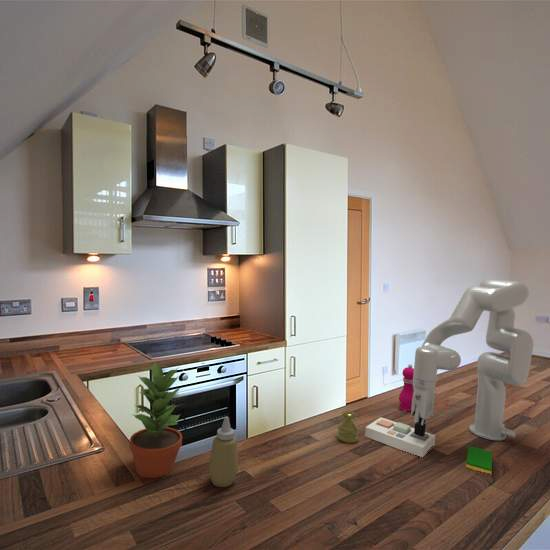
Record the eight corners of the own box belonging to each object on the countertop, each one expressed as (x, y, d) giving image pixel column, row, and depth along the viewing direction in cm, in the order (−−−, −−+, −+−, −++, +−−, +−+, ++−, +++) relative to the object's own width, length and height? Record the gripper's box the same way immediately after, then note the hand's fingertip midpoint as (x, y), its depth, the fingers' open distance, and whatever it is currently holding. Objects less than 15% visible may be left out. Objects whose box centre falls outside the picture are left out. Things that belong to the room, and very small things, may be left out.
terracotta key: (392, 430, 147) (393, 422, 147) (387, 434, 143) (388, 426, 143) (381, 426, 150) (382, 419, 150) (376, 430, 146) (376, 422, 146)
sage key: (410, 433, 143) (410, 426, 143) (405, 437, 139) (406, 429, 139) (397, 429, 146) (398, 422, 146) (392, 433, 142) (393, 425, 142)
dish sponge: (491, 458, 134) (491, 451, 134) (491, 477, 122) (491, 469, 122) (467, 452, 137) (468, 445, 137) (465, 469, 125) (466, 462, 125)
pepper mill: (412, 413, 168) (416, 367, 167) (395, 408, 173) (399, 363, 172) (417, 409, 174) (421, 364, 173) (401, 404, 178) (405, 361, 177)
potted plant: (153, 490, 103) (160, 376, 101) (116, 469, 111) (122, 364, 109) (194, 466, 115) (200, 365, 114) (158, 449, 123) (163, 355, 122)
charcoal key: (427, 442, 139) (428, 434, 139) (423, 447, 135) (424, 438, 135) (414, 438, 142) (415, 430, 142) (410, 442, 138) (410, 434, 138)
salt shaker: (334, 440, 138) (336, 412, 138) (339, 432, 145) (341, 405, 145) (355, 445, 135) (357, 417, 135) (359, 436, 142) (361, 409, 142)
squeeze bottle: (213, 493, 103) (217, 425, 102) (203, 476, 110) (207, 413, 109) (241, 486, 107) (246, 421, 106) (230, 471, 114) (235, 410, 113)
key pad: (434, 445, 140) (435, 434, 140) (422, 457, 130) (422, 446, 130) (380, 426, 153) (381, 416, 153) (364, 436, 143) (365, 426, 143)
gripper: (427, 390, 129) (422, 445, 130) (441, 381, 141) (437, 431, 142) (405, 384, 134) (400, 437, 135) (420, 376, 146) (416, 424, 146)
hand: (419, 434), depth 138 cm, fingers closed
